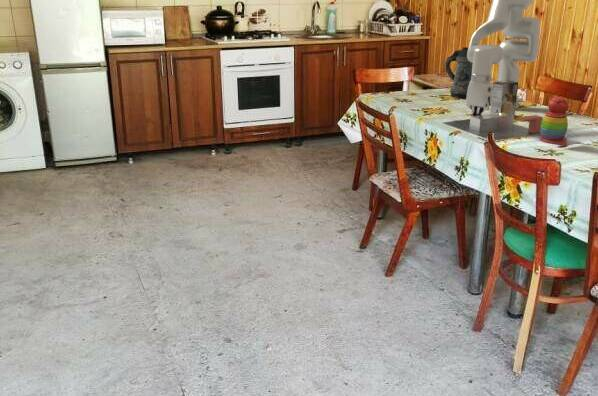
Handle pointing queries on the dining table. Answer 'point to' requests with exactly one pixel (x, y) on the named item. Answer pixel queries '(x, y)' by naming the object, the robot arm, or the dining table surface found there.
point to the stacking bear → (555, 122)
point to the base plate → (498, 133)
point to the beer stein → (459, 73)
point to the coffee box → (504, 97)
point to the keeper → (532, 122)
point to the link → (491, 121)
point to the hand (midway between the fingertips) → (476, 122)
